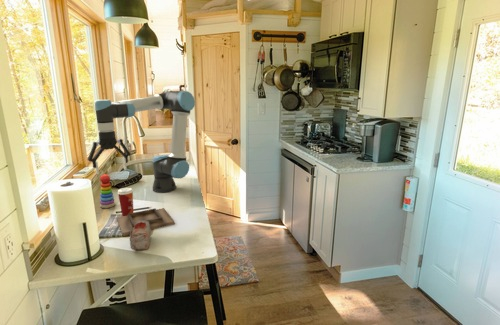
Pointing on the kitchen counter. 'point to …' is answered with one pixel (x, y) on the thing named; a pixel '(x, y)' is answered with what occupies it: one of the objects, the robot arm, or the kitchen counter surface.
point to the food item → (140, 235)
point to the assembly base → (145, 219)
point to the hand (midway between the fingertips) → (111, 171)
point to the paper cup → (126, 200)
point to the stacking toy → (106, 193)
